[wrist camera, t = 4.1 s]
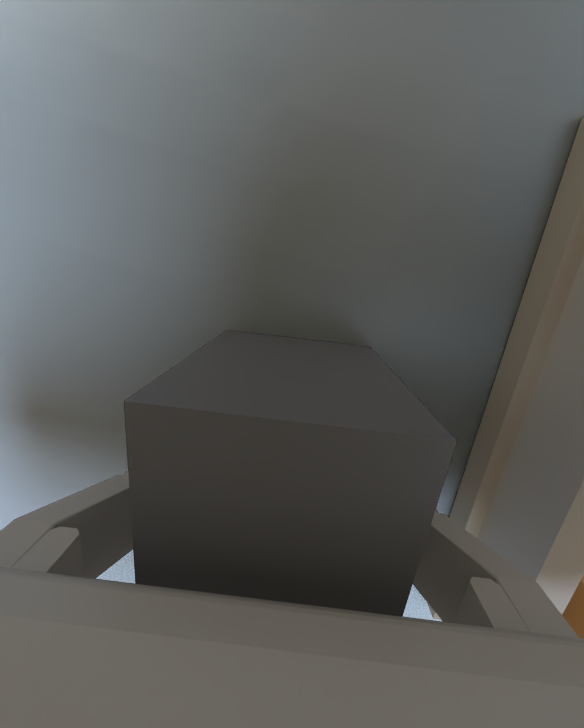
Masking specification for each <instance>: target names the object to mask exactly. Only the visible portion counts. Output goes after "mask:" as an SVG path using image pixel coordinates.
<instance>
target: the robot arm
mask: <svg viewBox="0 0 584 728" xmlns="http://www.w3.org/2000/svg"><path fill="white" fill-rule="evenodd" d="M132 549H133V536H132V521H131V505H130V490H129V474H128V471H127V472H126V473H125V474H124V475H117V476H114V477H112V478H110V479H107V480H105V481H103V482H100V483H98V484H96V485H93V486H91V487H89V488H86V489H84V490H82V491H79V492H77V493H75V494H72V495H70V496H68V497H65V498H63V499H61V500H58V501H56V502H54V503H51V504H49V505H47V506H44V507H42V508H40V509H37V510H35V511H32V512H30V513H28V514H25V515H23V516H21V517H18V518H16V519H14V520H13V521H12V522H11V523H10V524H8V525H7V526H6V527H5V528H4V529H2V530H1V531H0V728H584V639H580V638H579V637H578V635H577V634H576V633H575V632H574V630H573V629H572V628H571V626H570V625H569V624H568V622H567V621H566V620H565V618H564V617H563V616H562V614H561V613H560V612H559V610H558V609H557V608H556V606H555V605H554V604H553V603H552V601H551V600H550V599H549V597H548V596H547V595H546V593H545V592H544V591H543V589H542V588H541V587H540V585H539V584H538V583H537V582H535V581H534V580H533V579H531V578H530V577H529V576H527V575H526V574H525V573H523V572H522V571H520V570H519V569H518V568H516V567H515V566H514V565H512V564H511V563H510V562H508V561H507V560H506V559H504V558H503V557H501V556H500V555H499V554H497V553H496V552H495V551H493V550H492V549H491V548H489V547H488V546H487V545H485V544H484V543H483V542H481V541H480V540H478V539H477V538H476V537H474V536H473V535H472V534H470V533H469V532H468V531H466V530H465V529H464V528H462V527H461V526H459V525H458V524H457V523H455V522H454V521H453V520H451V519H450V518H449V517H447V516H446V515H445V514H439V513H438V511H437V509H436V510H435V513H434V516H433V519H432V523H431V526H430V529H429V532H428V535H427V539H426V542H425V545H424V548H423V552H422V555H421V558H420V561H419V564H418V568H417V571H416V574H415V577H414V580H413V585H414V586H415V587H416V589H417V590H418V591H419V592H420V594H421V595H422V596H423V597H424V599H425V600H426V601H427V602H428V604H429V605H430V606H431V607H432V609H433V610H434V611H435V612H436V614H437V615H438V616H439V617H440V619H441V620H442V621H443V622H441V621H433V620H425V619H417V618H409V617H401V616H393V615H385V614H377V613H369V612H361V611H353V610H345V609H337V608H329V607H321V606H313V605H305V604H297V603H289V602H281V601H272V600H264V599H256V598H248V597H240V596H232V595H223V594H215V593H207V592H199V591H191V590H183V589H175V588H166V587H158V586H150V585H142V584H134V583H126V582H118V581H110V580H101V579H95V578H97V577H98V576H99V575H101V574H102V573H103V572H104V571H106V570H107V569H108V568H109V567H111V566H112V565H113V564H115V563H116V562H117V561H118V560H120V559H121V558H122V557H124V556H125V555H126V554H127V553H129V552H130V551H131V550H132Z"/></svg>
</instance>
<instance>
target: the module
mask: <svg viewBox="0 0 584 728" xmlns="http://www.w3.org/2000/svg"><path fill="white" fill-rule="evenodd" d="M124 412H125V428H126V443H127V459H128V474H129V490H130V505H131V521H132V536H133V552H134V567H135V583H136V584H142V585H150V586H158V587H166V588H175V589H183V590H191V591H199V592H207V593H215V594H223V595H232V596H240V597H248V598H256V599H264V600H272V601H281V602H289V603H297V604H305V605H313V606H321V607H329V608H337V609H345V610H353V611H361V612H369V613H377V614H385V615H393V616H401V617H402V616H403V613H404V609H405V606H406V603H407V600H408V596H409V593H410V590H411V587H412V584H413V580H414V577H415V574H416V571H417V568H418V564H419V561H420V558H421V555H422V552H423V548H424V545H425V542H426V539H427V535H428V532H429V529H430V526H431V523H432V519H433V516H434V513H435V510H436V507H437V503H438V500H439V497H440V494H441V491H442V487H443V484H444V481H445V478H446V474H447V471H448V468H449V465H450V462H451V458H452V455H453V452H454V449H455V446H456V442H457V440H456V439H455V438H454V437H453V436H452V435H451V434H450V432H449V431H448V430H447V429H446V428H445V427H444V426H443V425H442V424H441V423H440V422H439V421H438V420H437V418H436V417H435V416H434V415H433V414H432V413H431V412H430V411H429V410H428V409H427V408H426V407H425V405H424V404H423V403H422V402H421V401H420V400H419V399H418V398H417V397H416V396H415V395H414V394H413V393H412V391H411V390H410V389H409V388H408V387H407V386H406V385H405V384H404V383H403V382H402V381H401V380H400V378H399V377H398V376H397V375H396V374H395V373H394V372H393V371H392V370H391V369H390V368H389V367H388V366H387V364H386V363H385V362H384V361H383V360H382V359H381V358H380V357H379V356H378V355H377V354H376V353H375V352H374V350H373V349H372V348H371V347H367V346H358V345H349V344H341V343H332V342H324V341H315V340H306V339H298V338H289V337H280V336H272V335H263V334H254V333H246V332H237V331H229V330H226V331H225V332H223V333H222V334H220V335H219V336H217V337H216V338H215V339H213V340H212V341H210V342H209V343H207V344H206V345H204V346H203V347H202V348H200V349H199V350H197V351H196V352H194V353H193V354H191V355H190V356H189V357H187V358H186V359H184V360H183V361H181V362H180V363H178V364H177V365H175V366H174V367H173V368H171V369H170V370H168V371H167V372H165V373H164V374H162V375H161V376H160V377H158V378H157V379H155V380H154V381H152V382H151V383H149V384H148V385H147V386H145V387H144V388H142V389H141V390H139V391H138V392H136V393H135V394H133V395H132V396H131V397H129V398H128V399H126V400H125V401H124Z"/></svg>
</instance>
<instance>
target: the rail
mask: <svg viewBox="0 0 584 728" xmlns="http://www.w3.org/2000/svg"><path fill="white" fill-rule="evenodd" d="M449 518H450V519H451V520H453V521H454V522H455V523H457V524H458V525H459V526H461V527H462V528H464V529H465V530H466V531H468V532H469V533H470V534H472V535H473V536H474V537H476V538H477V539H478V540H480V541H481V542H483V543H484V544H485V545H487V546H488V547H489V548H491V549H492V550H493V551H495V552H496V553H497V554H499V555H500V556H501V557H503V558H504V559H506V560H507V561H508V562H510V563H511V564H512V565H514V566H515V567H516V568H518V569H519V570H520V571H522V572H523V573H525V574H526V575H527V576H529V577H530V578H531V579H533V580H534V581H535V582H537V583H538V584H539V585H540V587H541V588H542V589H543V591H544V592H545V593H546V595H547V596H548V597H549V599H550V600H551V601H552V603H553V604H554V605H555V606H556V608H557V609H558V610H559V612H560V613H561V614H562V616H563V617H564V618H565V620H566V621H567V622H568V624H569V625H570V626H571V628H572V629H573V630H574V632H575V633H576V634H577V635H578V637H579V638H580V639H584V117H582V118H581V122H580V125H579V128H578V131H577V134H576V137H575V140H574V143H573V146H572V149H571V152H570V155H569V158H568V161H567V164H566V167H565V170H564V173H563V176H562V179H561V182H560V185H559V188H558V191H557V194H556V197H555V200H554V203H553V206H552V209H551V212H550V215H549V218H548V221H547V224H546V227H545V230H544V233H543V236H542V239H541V242H540V245H539V248H538V251H537V254H536V257H535V260H534V263H533V266H532V269H531V272H530V275H529V278H528V281H527V284H526V287H525V290H524V293H523V296H522V299H521V302H520V305H519V308H518V311H517V314H516V317H515V320H514V324H513V327H512V330H511V333H510V336H509V339H508V342H507V345H506V348H505V351H504V354H503V357H502V360H501V363H500V366H499V369H498V372H497V375H496V378H495V381H494V384H493V387H492V390H491V393H490V396H489V399H488V402H487V405H486V408H485V411H484V414H483V417H482V420H481V423H480V426H479V429H478V432H477V435H476V438H475V441H474V444H473V447H472V450H471V453H470V456H469V459H468V462H467V465H466V468H465V471H464V474H463V477H462V480H461V483H460V486H459V489H458V492H457V495H456V498H455V501H454V504H453V507H452V510H451V513H450V516H449ZM427 603H428V602H427ZM428 606H429V609H430V611H431V614H432V617H433V618H434V619H440V617H439V616H438V615H437V614H436V612H435V611H434V610H433V609H432V607H431V606H430V605H429V604H428Z"/></svg>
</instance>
